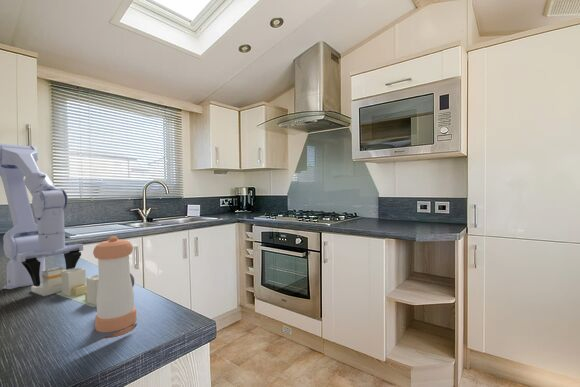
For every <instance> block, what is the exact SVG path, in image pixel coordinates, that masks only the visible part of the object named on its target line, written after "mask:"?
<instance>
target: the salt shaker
mask: <svg viewBox="0 0 580 387" xmlns="http://www.w3.org/2000/svg"><path fill="white" fill-rule="evenodd" d="M133 250H134V246H133V244H132V243H131V242H130V240H127V239H126V240H125V239H121V238H120V239H119V238H118V236H113V235H112V236H110V237H109V238H108V240H104V241H102V242H99V243H98V244H96V245H95V246H94V249H93V252H92V254H93V257H94V258H95V259H97V260H98V262H97V263H98V275H99V283H98V290H97V298H96V303H97V307H96V312H97V313H96V314H95V317H94V319H95V320H94V323H95V324H94V326H95V327H94V328H95V331H96V332H99V333H111V332H115V333H112V334H110V335H107V336H105V337H104V339H109V338H115V337H119V336H122V335H126V334H127V333H131V331H133V330H134V329H136V327H137V324H138V323H136V321H137V320H138V319H137V309H136V308H137V307H136V306H135V292H134V286H133V287H132V282H131V278H130V273H131V268H130V267H131V266H130V255H131V254H132V253H133ZM134 323H135V324H134Z"/></svg>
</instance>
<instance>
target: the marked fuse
mask: <svg viewBox="0 0 580 387" xmlns="http://www.w3.org/2000/svg"><path fill="white" fill-rule="evenodd" d="M63 270H66V267H65V268H64V267H61V266H56V267H52V268H45V270H42V282H41V284H42V289H44V290H46V289H50V288H54V287H58V286H61V285H62V282H61V271H63Z"/></svg>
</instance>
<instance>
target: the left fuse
mask: <svg viewBox="0 0 580 387" xmlns="http://www.w3.org/2000/svg"><path fill="white" fill-rule="evenodd" d="M86 278H87V277H86V268H84V267H79V266H78V267H76V266H75V268H72V269H68V270H66V269H65V270H63V271H61V282H62V291H61V292H62V293H63V294H66V295H69V296H70V295H72V287H76V286H80V285H83V284H85V285H86Z"/></svg>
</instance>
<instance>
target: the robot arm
mask: <svg viewBox="0 0 580 387" xmlns="http://www.w3.org/2000/svg"><path fill="white" fill-rule="evenodd" d="M38 155H39V154H38V150H37V149H36V147H35V146H33V145H21V144H7V143H0V177H1V181H2V184H3V185H2V186H3V188H4V193H5V197H6V201H7V204H8V209H9V213H10V216H11V221H12V224H13V227H12V228H10V229H9V230H7V231H6V232H5V233H4V235H3V236H2V239H3V245H2V246H3V253H4V255H5V256H6V258H8V259H10V260H9V261H8V262H7V264H6V283H7V284H6V285H4V286H3V289H6V290H11V289H16V288H19V287H27V286H29V287H30V286H40V284H42V270H46V258H47V257H52V256H58V255H63V257H64V261H65V270H68V269H72V268H76V265H77V263H78V261H79V260H80V258H81V256H82V251H84V244H83V243H75V244H68V245H67V244H66V234H65V232H66V231H65V230H66V229H65V213H64V212H65V210H66V208H67V207H68V203H69V199H68V198H69V197H68V194H67V192H66V191H65V189H61V188H60V187H56V185H55V184H54V182H53V181H52V179H51V178H50V176H49V175H48V174H47V173H45V172H42V171H41V170H40V168H39V165H38V164H37V161H38V158H39V156H38ZM27 191H28V192H29V193H30V195H31V197H32V198H31V199H32V200H31V202H30V198H29V194H28V192H27ZM31 205H32V206H31ZM32 208H33V210H32ZM33 211H34V214H33ZM34 216H35V218H37V223H36V221H35V218H34Z"/></svg>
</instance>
